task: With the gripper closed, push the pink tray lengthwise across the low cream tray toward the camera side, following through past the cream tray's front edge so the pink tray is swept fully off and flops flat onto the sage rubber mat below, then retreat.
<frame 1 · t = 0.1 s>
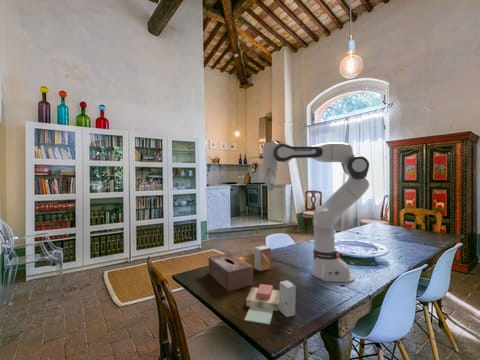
hand: (270, 191, 143), 48 cm above the table, fingers open, 8 cm apart
mat: (259, 315, 96), on the table
tissue box cover: (229, 279, 131), on the table
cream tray: (264, 301, 107), on the table
small box: (262, 268, 145), on the table
pink tray: (264, 293, 108), point 3 cm above the table, touching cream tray
skincare box: (287, 313, 98), on the table
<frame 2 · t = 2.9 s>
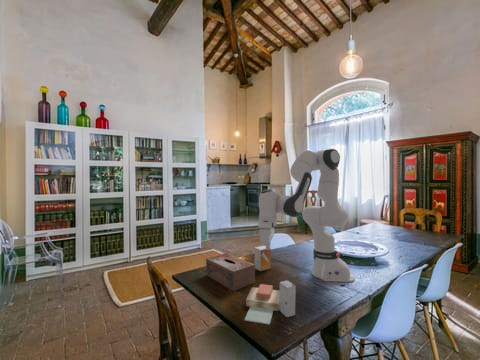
hand: (268, 249, 118), 20 cm above the table, fingers closed
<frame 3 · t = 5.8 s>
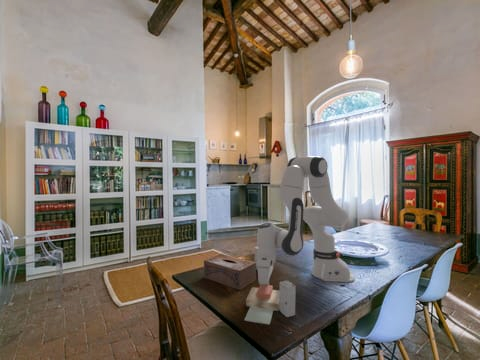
hand: (266, 285, 114), 4 cm above the table, fingers closed
pink tray: (264, 293, 108), point 3 cm above the table, touching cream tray, gripper
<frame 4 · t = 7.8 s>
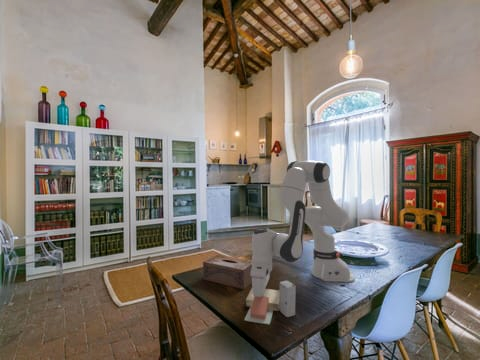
hand: (262, 297, 103), 4 cm above the table, fingers closed
pink tray: (260, 308, 98), point 2 cm above the table, tilted 19°, touching gripper
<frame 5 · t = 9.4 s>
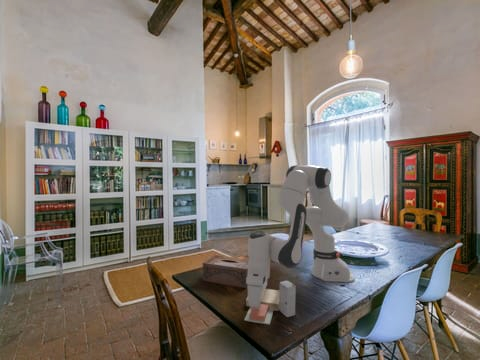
hand: (259, 305, 96), 4 cm above the table, fingers closed
pink tray: (259, 313, 96), resting on mat
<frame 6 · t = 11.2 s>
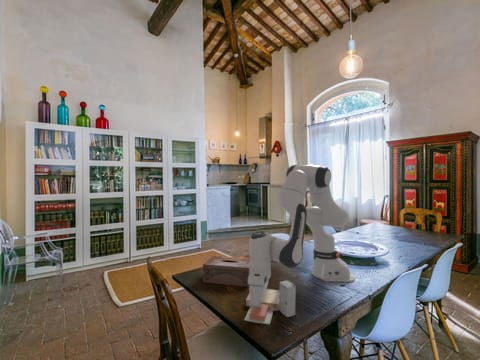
hand: (260, 305, 97), 4 cm above the table, fingers closed
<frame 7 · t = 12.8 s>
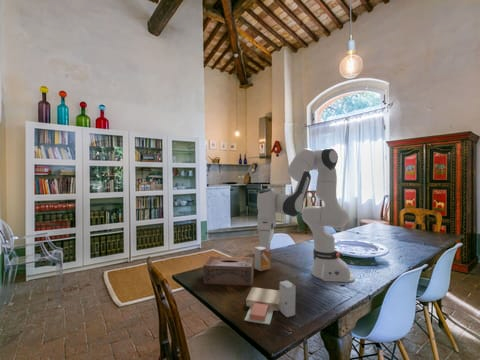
hand: (267, 250, 114), 21 cm above the table, fingers closed
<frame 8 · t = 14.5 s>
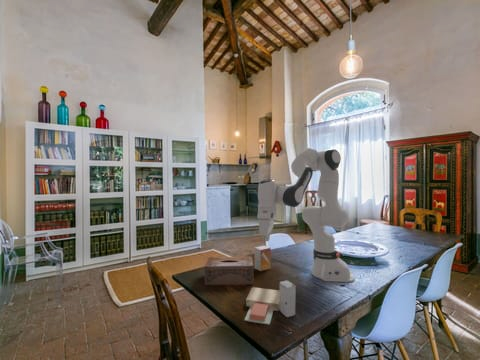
hand: (267, 240, 116), 25 cm above the table, fingers closed
at the end: pink tray resting on mat; pink tray inside the target area on the mat (0.3 cm from its centre), point 0.4 cm above the mat's base; pink tray moved 12.5 cm from its start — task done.
